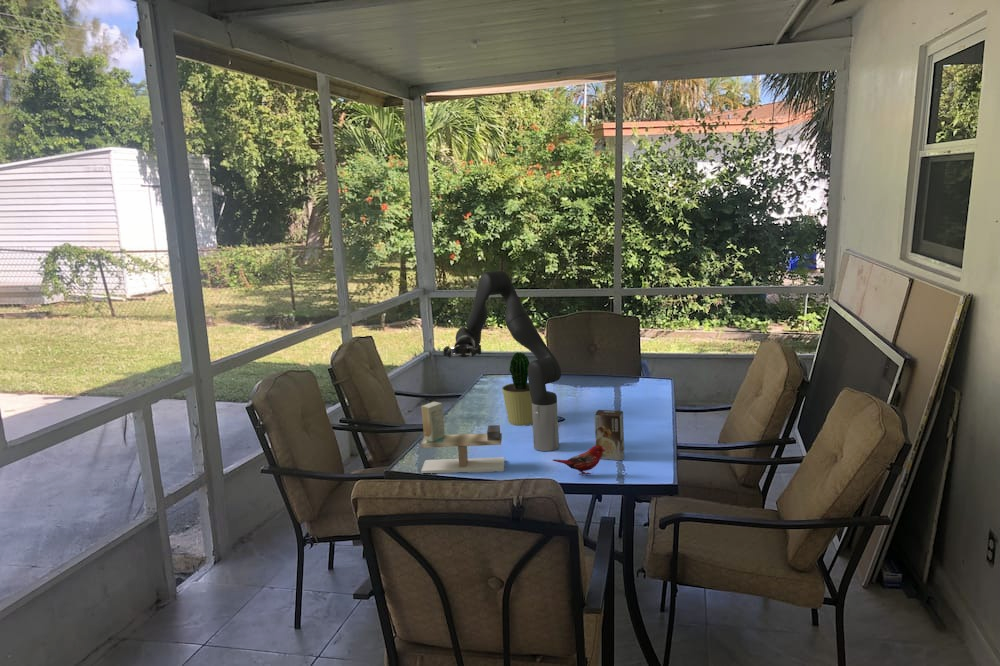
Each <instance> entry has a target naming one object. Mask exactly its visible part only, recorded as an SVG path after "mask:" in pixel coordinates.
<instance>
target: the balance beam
mask: <svg viewBox="0 0 1000 666" xmlns="http://www.w3.org/2000/svg"><path fill="white" fill-rule="evenodd" d="M500 426H501V425H500V424H498V425H497V424H496V425H490V424H489V425H488V426H487V431H486V433H467V434H466V433H462V434H445V437H442V438H440V439H438V440H436V441H433V442H431V441H428V440H424V437H423V438H422V441H421V442H420V444H421V445H420V446H421V448H422V449H425V448H426V449H427V448H449V447H451V448H453V447H458V446H467V447H476V446H477V447H478V446H481V447H482V446H483V447H484V446H501V445H502V439H503V436H502V435H503V433H502V432H501V427H500Z"/></svg>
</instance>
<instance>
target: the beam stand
mask: <svg viewBox="0 0 1000 666" xmlns="http://www.w3.org/2000/svg"><path fill="white" fill-rule="evenodd" d="M457 451H458V453H457V454H458V458H449V459H448V458H445V459H442V458H441V459H426V460H424V463H423V465H422V467H421V470H420V472H421V473H431V474H430V475H432V473H437V475H438V473H439V474H458V473H457V472H468V473H487V472H489V473H490V472H491V473H492V472H494V471H497V472H504V471H505V463H504V462H505V461H506V459H505V457H503V456H502V457H501V456H500V457H477V458H476V457H475V458H468V457H469V456H468V446H457ZM421 473H420V474H421Z"/></svg>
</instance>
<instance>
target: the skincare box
mask: <svg viewBox="0 0 1000 666" xmlns="http://www.w3.org/2000/svg"><path fill="white" fill-rule="evenodd" d="M420 408H421V420H422V430H423V438H424V440H428V441H431V442H433V441H436V440H438V439H440V438H442V437H445V435H446V433H445V423H444V412H443V411H444V410H443V403H442V402H437V401H431V402H428V403H426V404H423V405H421V406H420Z"/></svg>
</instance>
